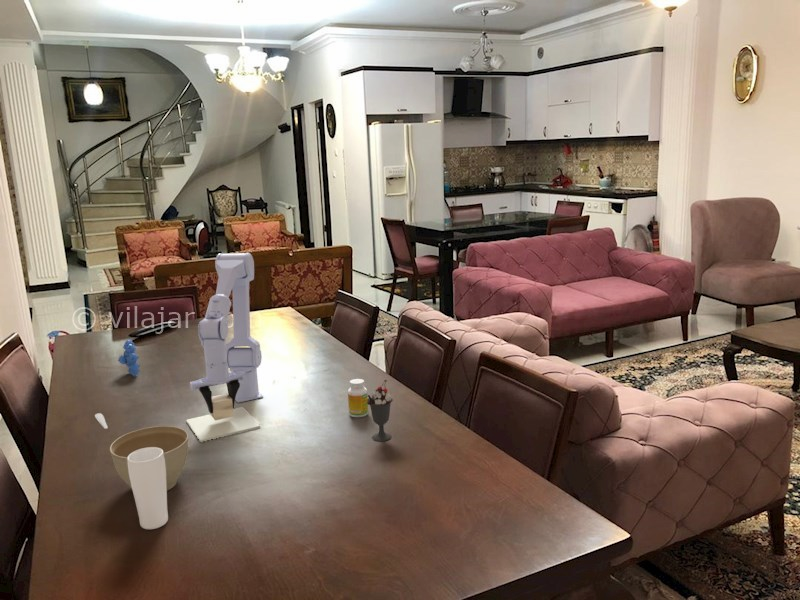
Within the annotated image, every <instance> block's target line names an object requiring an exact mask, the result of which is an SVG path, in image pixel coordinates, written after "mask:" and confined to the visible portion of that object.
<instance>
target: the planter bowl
mask: <svg viewBox="0 0 800 600" xmlns="http://www.w3.org/2000/svg"><path fill="white" fill-rule="evenodd" d="M188 442H189V434H188V432H187V431H186V430H185V429H183V428H180V427H178V426H171V425H170V426H169V425H160V426H149V427H148V426H147V427H144V428H140V429H137V430H134V431H130V432H128V433H125V434H123V435H121V436H120V437H118V438H116V439H115V440H114V441H113V442H112V443H111V445H110V446H109V451H110V455H111V457H112V461H113V465H114V468H115V470H116V472H117V474H118V475H119V477H120V478H121V480H123V482H124V483H126V484H127V486H129V487H130V489H131V491H132V492H133V490H132V486H131V482H130V478H129V472H128V462H127V457H128V456H129V455H130V454H131V453H132V452H134V451H136V450H139V449H142V448H148V447H157V448H160V449H162V450H163V453H164V458H165V465H166V484H167V492H168V491H170V490H171V489H173V488H174V487H175V486H176V485H177V483H178V478H179V476H180V475H181V473H182V471H183V469H184V467H185V465H186V461H187V458H188V452H189V445H188Z"/></svg>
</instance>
